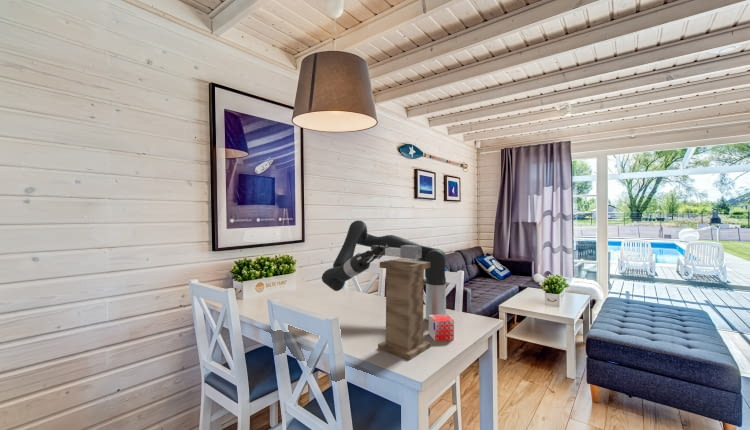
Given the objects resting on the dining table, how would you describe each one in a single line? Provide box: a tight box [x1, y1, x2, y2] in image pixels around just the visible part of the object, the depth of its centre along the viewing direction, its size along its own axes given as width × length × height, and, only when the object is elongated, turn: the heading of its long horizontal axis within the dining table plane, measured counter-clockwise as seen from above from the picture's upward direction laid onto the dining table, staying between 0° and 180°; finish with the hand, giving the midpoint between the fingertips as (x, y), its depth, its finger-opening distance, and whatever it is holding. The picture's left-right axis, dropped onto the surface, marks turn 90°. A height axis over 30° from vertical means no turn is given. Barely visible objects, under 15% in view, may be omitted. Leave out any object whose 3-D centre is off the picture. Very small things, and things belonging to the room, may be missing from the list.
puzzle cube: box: [428, 313, 455, 342], centre depth 131 cm, size 8×8×8 cm
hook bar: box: [370, 245, 423, 260], centre depth 122 cm, size 5×21×4 cm, turn 50°
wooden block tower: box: [377, 258, 431, 360], centre depth 119 cm, size 14×14×32 cm
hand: (384, 247), depth 125 cm, fingers closed on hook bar, 3 cm apart
